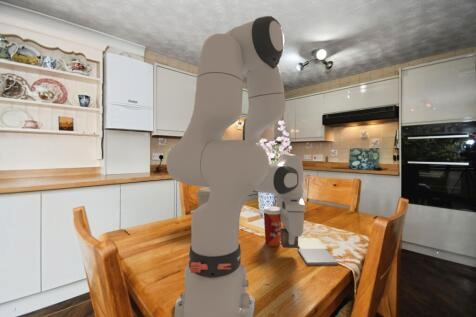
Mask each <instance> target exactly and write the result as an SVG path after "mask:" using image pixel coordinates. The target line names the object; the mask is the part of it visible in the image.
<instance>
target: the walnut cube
mask: <svg viewBox="0 0 476 317" xmlns="http://www.w3.org/2000/svg"><path fill="white" fill-rule="evenodd" d="M288 238H289V232H288V231H287V229H286V228H282V227H281V236H280V244H281V247H282V248H283V249H290V248H291V249H299V248H298V238H299V236H295V239H294V244H293V245H290V244H289V243H288Z"/></svg>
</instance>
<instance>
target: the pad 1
mask: <svg viewBox="0 0 476 317" xmlns="http://www.w3.org/2000/svg"><path fill="white" fill-rule="evenodd" d="M298 247H299V248H298V249H326V250H328V251H329V248H328V247H327V246H326V245H325V244H324V243H323V242H322V241H321V239H319V237H301V238H300V237H298Z"/></svg>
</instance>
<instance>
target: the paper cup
mask: <svg viewBox="0 0 476 317" xmlns="http://www.w3.org/2000/svg"><path fill="white" fill-rule="evenodd" d="M279 207H280V206H274V205H273V206H272V205H271V206H265V207H264V208H263V211H262V212H263V222H264V223H263V224H264V236H265V237H264V238H265V245H267V246H269V247H278V246H280V244H281V242H280V236H281V228H282V222H281V221H280V209H279Z"/></svg>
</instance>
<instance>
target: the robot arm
mask: <svg viewBox="0 0 476 317" xmlns="http://www.w3.org/2000/svg"><path fill="white" fill-rule="evenodd" d="M285 39H286V38H285V34H284V30H283V27H282V25H281V23H280V22H279V21H278V20H277V19H276V18H275V17H274V16H271V15H267V16H260V17H257V18H256V19H255V20H252V21H248V22H246V23H243V24H241V25H239V26H236V27H234V28H232V29H230V30H229V31H226V32H225V33H215V34H211V35H210V36H208V38H206V39H205V40H204V42H203V45H202V48H201V52H200V56H199V61H198V65H197V71H196V72H197V73H196V85H195V86H196V87H195V94H194V97H195V98H194V103H193V104H194V105H193V110H192V111H193V112H192V115H191V118H190V120H189V124H188V126H187V128H186V130H185V132H184V133H183V135H182V136H181V138H180V139H179V141H178V142H176V144H175V145H173V146H172V147H171V148H170V150H169V151H168V154H167V155H166V164H165V165H166V170H167V173H168V174H169V176H170V178H172V179H173V180H175V181H177V182H180V183H182V184H185V185H188V186H194V187H202V188H203V187H210V196H209V199H208V202H206V203H204V204H202V205H201V206H199V205H198V207H196V209H195V210H194V211H193V213H192V214H191V215H192V216H191V220H190V221H191V222H190V223H191V224H190V228H191V229H190V230H191V233H190V234H191V235H190V236H191V237H190V238H191V244H190V247H189V252H188V266H186V267H185V268H184V292H183V291H182V292H180V297H178V298H177V299H176V300H175V304H174V316H173V317H255V308H256V299H255V297H253V296H252V295H249V293H248V290H247V288H249V280H247V268H246V267H245V265H243V264H242V263H241V261H242V260H241V256H242V250H241V244H240V243H239V242H240V241H239V239H240V238H239V236H240V234H239V233H240V219H241V211H242V210H243V206H244V204H245V202H246V200H247V199H248V198H249V196H250V195H251V194H252V193H265V194H272V195H276V205H277V207H279V209H280V221H281V225H282V226H283V228H286V229H287V231H288V232H289V238H288V243H289V244H290V245H293V244H294V239H295V236H298V237H301V236H302V235H303V233H304V223H305V214H304V213H305V212H306V209H307V208H306V203H305V201H304V191H303V182H304V167H303V161H302V160H303V159H302V157H300V156H299V155H297V154H291V153H285V154H280V155H279V157H278V158H279V159H278V160H277V161H275V162H273V163H270V160H269V156H268V154H267V151H266V150H265V148H264V147H263V146H262V145H261V144H260V138H261V136H262V134H264V133H265V131H267V130H268V129H269V128H272V127H273V126H274V125H276V124H277V123H278V122H279V121H280V120H281V119H282V118H283V116H284V114H285V111H286V95H285V89H284V88H285V87H284V81H283V78H282V73H281V72H282V71H281V69H280V66H279V64H280V62H281V61H280V60H281V58H282V56H283V53H284V51H285V45H286V41H285ZM244 72H245V75H246V77H247V78H246V80H247V81H246V85H247V86H246V87H247V99H248V111H247V115H246V118H245V119H244V121H243V124H242V125H243V126H242V139H222V138H223V135H224V133H225V132H226V130H228V128H229V127H230V126H232V125H233V124H235V123H236V122H238V120H239V119H240V117H241V114H242V113H243V112H242V111H243V110H242V108H243V94H244V93H243V92H244V90H243V89H244Z"/></svg>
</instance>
